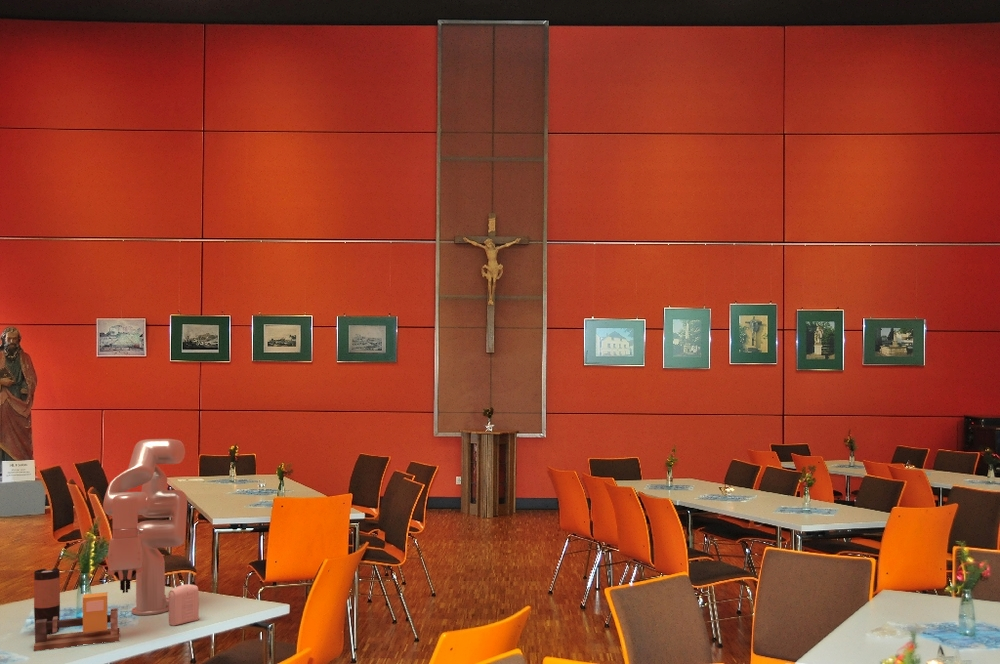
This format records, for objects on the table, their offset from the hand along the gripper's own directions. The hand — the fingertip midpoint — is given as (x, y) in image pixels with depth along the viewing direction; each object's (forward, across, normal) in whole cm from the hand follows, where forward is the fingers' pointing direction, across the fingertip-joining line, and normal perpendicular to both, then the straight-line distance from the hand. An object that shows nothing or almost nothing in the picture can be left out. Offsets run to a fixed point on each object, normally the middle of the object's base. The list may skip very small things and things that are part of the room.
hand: (125, 592), depth 306 cm
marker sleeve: (+11, +9, -1) cm, 14 cm away
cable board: (+14, +14, -1) cm, 20 cm away
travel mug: (+14, +24, -18) cm, 33 cm away
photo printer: (+14, -18, -11) cm, 25 cm away
